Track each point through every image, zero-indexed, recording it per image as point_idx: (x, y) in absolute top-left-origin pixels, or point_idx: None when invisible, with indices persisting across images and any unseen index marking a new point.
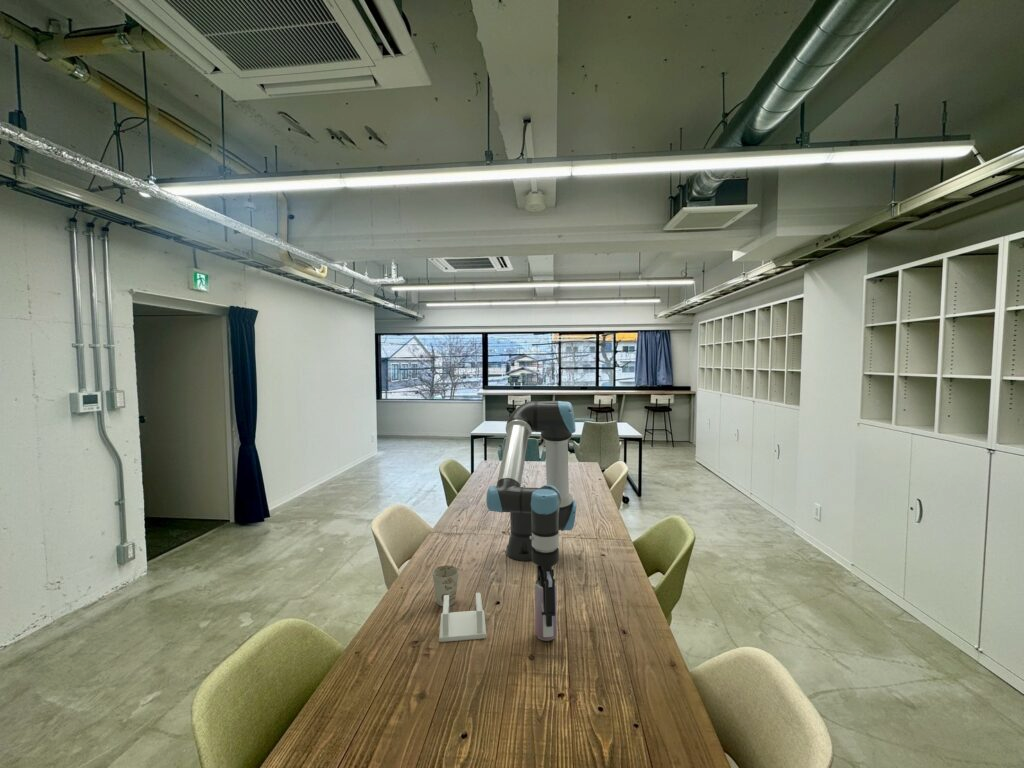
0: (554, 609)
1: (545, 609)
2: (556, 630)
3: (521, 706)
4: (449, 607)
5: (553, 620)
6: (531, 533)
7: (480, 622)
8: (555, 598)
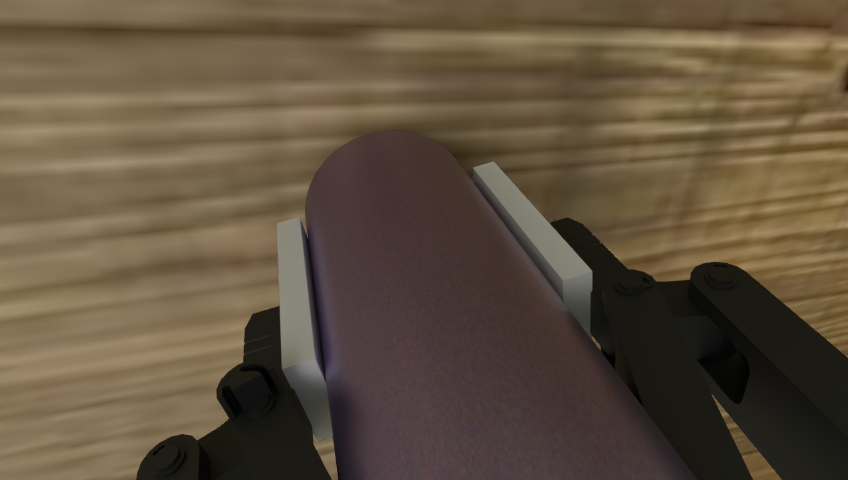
0: (789, 315)
1: (718, 387)
2: (408, 141)
3: (839, 239)
4: None
5: (496, 216)
6: None
7: None
8: (569, 347)
